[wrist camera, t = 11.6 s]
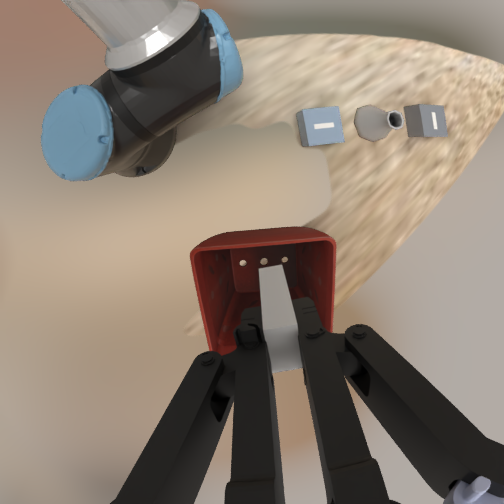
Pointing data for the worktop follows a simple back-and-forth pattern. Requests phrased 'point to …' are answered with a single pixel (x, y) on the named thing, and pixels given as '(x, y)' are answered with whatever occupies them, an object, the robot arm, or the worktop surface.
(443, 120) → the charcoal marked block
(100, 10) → the robot arm
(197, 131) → the worktop surface
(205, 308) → the plant pot
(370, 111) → the flask
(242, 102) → the worktop surface
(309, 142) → the slate-blue marked block
